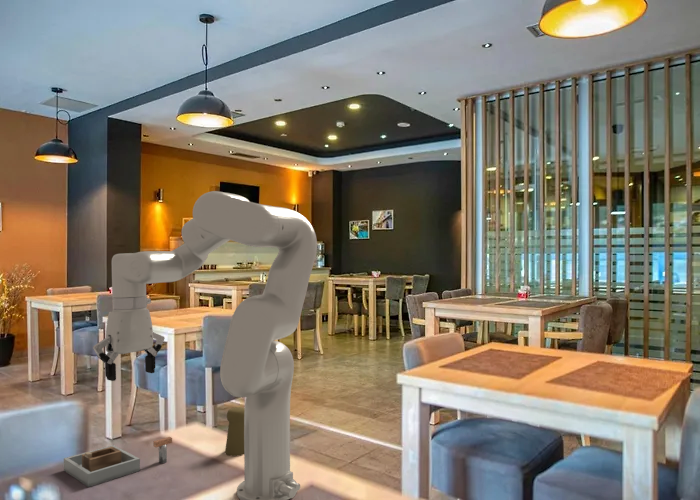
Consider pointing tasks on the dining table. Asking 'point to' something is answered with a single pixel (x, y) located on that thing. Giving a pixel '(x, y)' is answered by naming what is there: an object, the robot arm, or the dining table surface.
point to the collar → (101, 458)
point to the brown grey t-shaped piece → (162, 448)
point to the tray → (102, 475)
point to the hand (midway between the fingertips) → (131, 376)
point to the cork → (235, 431)
